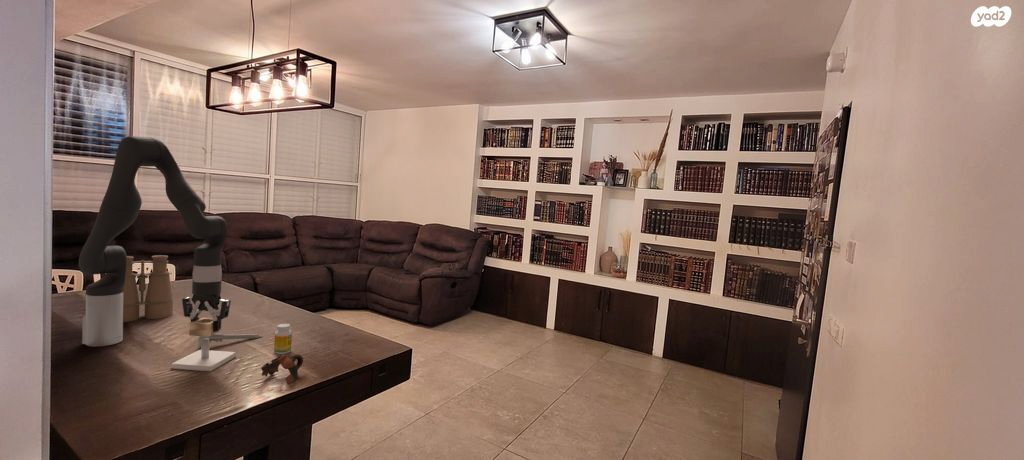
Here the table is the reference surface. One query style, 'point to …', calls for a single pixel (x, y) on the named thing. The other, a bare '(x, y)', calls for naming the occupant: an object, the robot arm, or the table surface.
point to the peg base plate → (204, 359)
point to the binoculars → (148, 290)
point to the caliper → (227, 337)
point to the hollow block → (202, 327)
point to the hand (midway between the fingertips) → (205, 330)
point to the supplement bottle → (283, 339)
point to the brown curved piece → (284, 366)
